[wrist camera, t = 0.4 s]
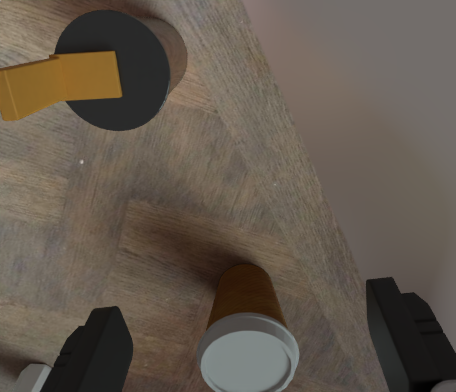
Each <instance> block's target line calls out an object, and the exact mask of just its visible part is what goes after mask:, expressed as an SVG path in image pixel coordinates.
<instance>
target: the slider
mask: <svg viewBox="0 0 456 392" xmlns="http://www.w3.org/2000/svg"><path fill="white" fill-rule="evenodd" d="M120 97H122V91H121V84H120V78H119V72H118V66H117V60H116V54H115V51H114V50H113V51H97V52H81V53H66V54H51V55H49V59H44V60H39V61H34V62H29V63H24V64H19V65H14V66H9V67H4V68H0V111H1V114H2V118H3V120H4V121H13V120H19V119H22V118H24V117H26V116H28V115H30V114H32V113H35V112H37V111H39V110H41V109H43V108H46V107H48V106H50V105H52V104H54V103H57V102H59V101H69V100H86V99H104V98H120Z"/></svg>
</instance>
